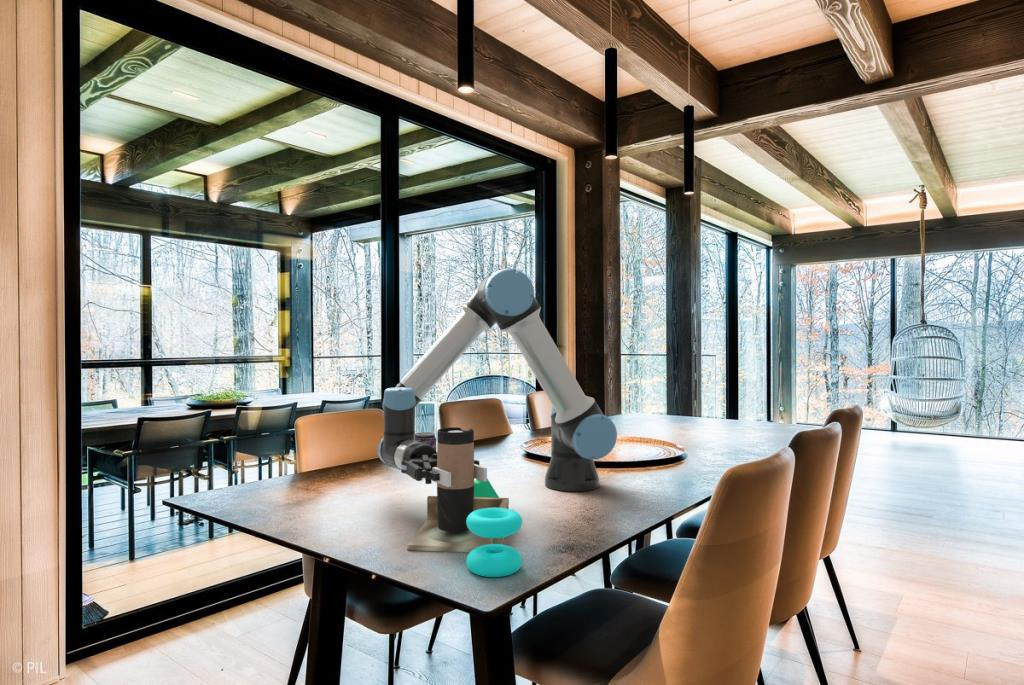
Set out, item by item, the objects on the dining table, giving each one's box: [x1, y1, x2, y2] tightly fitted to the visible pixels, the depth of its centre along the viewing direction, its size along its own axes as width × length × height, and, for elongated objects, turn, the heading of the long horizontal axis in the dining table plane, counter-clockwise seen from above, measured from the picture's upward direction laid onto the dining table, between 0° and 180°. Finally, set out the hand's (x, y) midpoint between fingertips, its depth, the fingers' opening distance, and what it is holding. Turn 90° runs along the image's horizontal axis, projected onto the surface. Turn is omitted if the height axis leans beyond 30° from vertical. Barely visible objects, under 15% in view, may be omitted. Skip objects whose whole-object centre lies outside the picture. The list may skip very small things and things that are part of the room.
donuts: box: [465, 508, 523, 578], centre depth 110 cm, size 10×10×10 cm
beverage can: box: [415, 431, 437, 451], centre depth 190 cm, size 7×7×12 cm
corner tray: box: [406, 495, 510, 553], centre depth 128 cm, size 18×18×6 cm
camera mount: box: [474, 478, 500, 498], centre depth 149 cm, size 12×8×10 cm, turn 111°
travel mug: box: [436, 426, 475, 532], centre depth 127 cm, size 8×8×20 cm
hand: (467, 477), depth 123 cm, fingers open, 8 cm apart
